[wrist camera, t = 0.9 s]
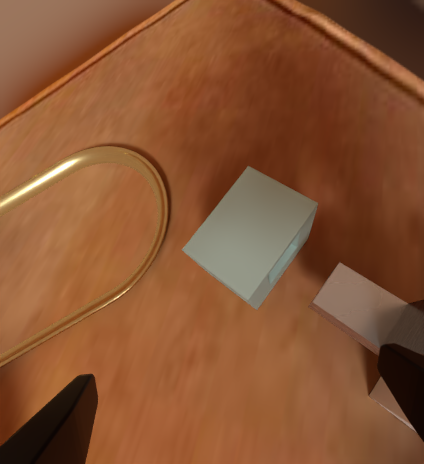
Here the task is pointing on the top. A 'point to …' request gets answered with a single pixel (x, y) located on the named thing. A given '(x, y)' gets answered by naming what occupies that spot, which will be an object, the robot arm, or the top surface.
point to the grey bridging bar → (369, 311)
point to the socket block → (253, 235)
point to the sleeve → (388, 401)
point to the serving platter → (59, 173)
